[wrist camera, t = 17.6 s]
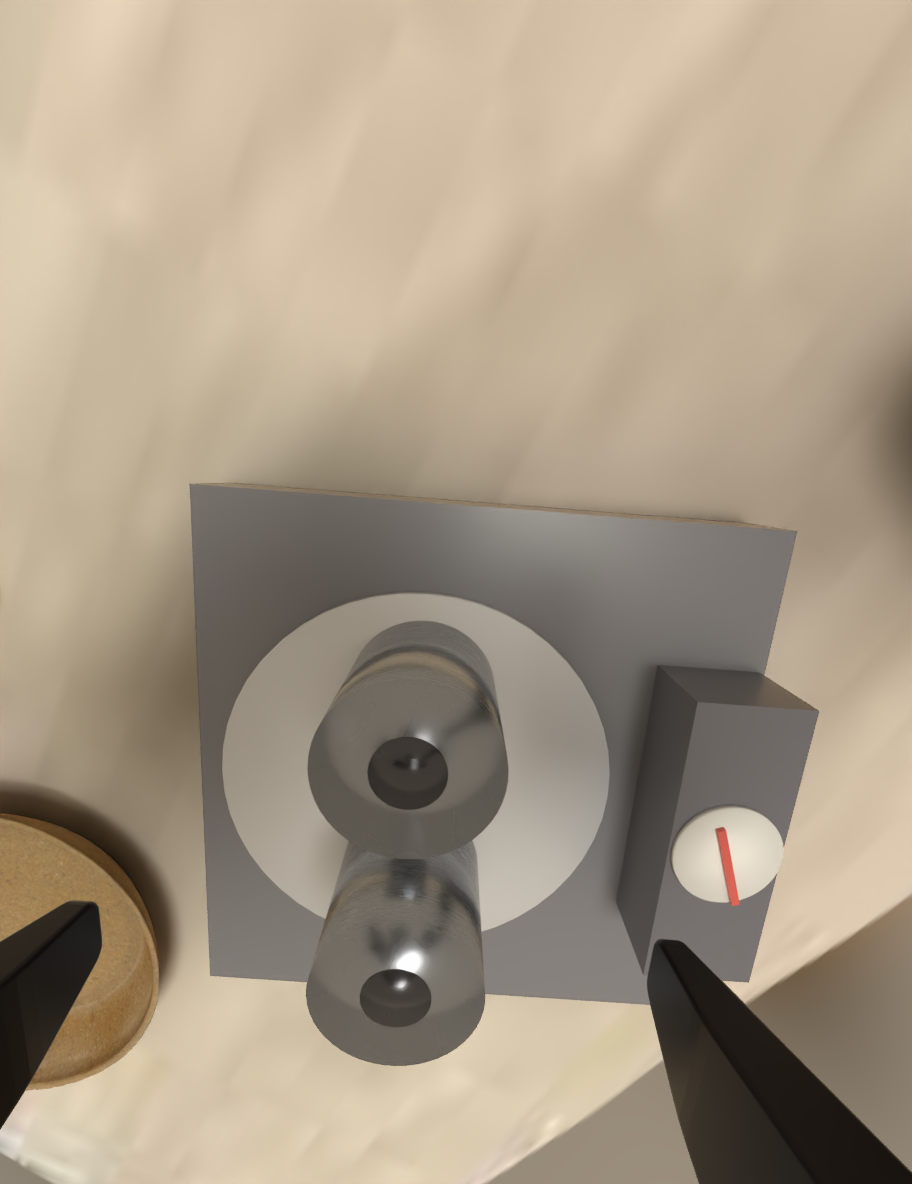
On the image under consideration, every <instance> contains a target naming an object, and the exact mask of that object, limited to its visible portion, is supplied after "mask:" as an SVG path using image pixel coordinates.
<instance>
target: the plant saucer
mask: <svg viewBox="0 0 912 1184" xmlns="http://www.w3.org/2000/svg"><path fill="white" fill-rule="evenodd" d="M72 900H78V901H93V902H96V904H97V905H98V906H99V912H100V922H101V932H102V949H101V953H100V955H99V958H98V960H97V962H96V964H95V966H94V968H93V970H92V972H91V973H90V975H89V977H88V979H87V981H86V983H85V984H84V986H83V988H82V990H81V992H80V994H79V995H78V997H77V999H76V1001H75V1003H74V1005H73V1006H72V1008H71V1010H70V1012H69V1014H68V1016H67V1017H66V1019H65V1021H64V1023H63V1025H62V1027H61V1028H60V1030H59V1032H58V1034H57V1036H56V1037H55V1039H54V1041H53V1043H52V1045H51V1047H50V1048H49V1050H48V1052H47V1054H46V1056H45V1058H44V1059H43V1061H42V1063H41V1065H40V1066H39V1068H38V1070H37V1072H36V1073H35V1075H34V1077H33V1079H32V1080H31V1082H30V1084H29V1085H28V1087H27V1088H26V1090H33V1089H37V1090H38V1089H48V1088H53V1087H57V1086H63V1085H66V1084H69V1083H74V1082H77V1081H80V1080H83V1079H85V1078H87V1077H90V1076H92V1075H94V1074H97V1073H99V1072H101V1071H103V1070H104V1069H106V1068H108V1067H109V1066H111V1065H112V1064H114V1063H116V1062H117V1061H118V1060H120V1059H121V1058H122V1057H124V1056H125V1055H126V1054H127V1053H128V1052H129V1051H130V1050H131V1049H132V1048H133V1047H134V1046H135V1045H136V1043H137V1042H138V1041H139V1040H140V1038H141V1037H142V1036H143V1034H144V1032H145V1031H146V1029H147V1027H148V1025H149V1024H150V1022H151V1019H152V1017H153V1014H154V1011H155V1008H156V1005H157V1000H158V995H159V984H160V980H159V958H158V949H157V943H156V938H155V934H154V930H153V926H152V923H151V920H150V917H149V914H148V912H147V909H146V907H145V905H144V903H143V901H142V898H141V897H140V895H139V893H138V891H137V890H136V888H135V886H134V884H133V883H132V881H131V880H130V878H129V877H128V876H127V874H126V873H125V872H124V871H123V869H122V868H121V867H120V866H119V865H118V864H117V863H116V862H115V861H114V860H113V859H112V858H111V857H110V856H109V855H108V854H107V853H105V852H104V851H103V850H102V849H100V848H99V847H98V846H96V845H95V844H93V843H92V842H90V841H89V840H87V839H85V838H84V837H82V836H80V835H78V834H76V833H74V832H72V831H70V830H68V829H66V828H63V827H60V826H58V825H55V824H52V823H49V822H45V821H42V820H38V819H34V818H29V817H24V816H19V815H12V814H4V813H0V941H2V940H4V939H5V938H7V937H9V936H10V935H12V934H13V933H15V932H17V931H18V930H20V929H22V928H23V927H25V926H27V925H28V924H30V923H32V922H33V921H35V920H37V919H38V918H40V917H42V916H43V915H45V914H47V913H48V912H50V911H52V910H53V909H55V908H57V907H58V906H60V905H62V904H63V903H65V902H68V901H72ZM26 1090H25V1091H26Z"/></svg>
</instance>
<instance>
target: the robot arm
mask: <svg viewBox="0 0 912 1184" xmlns="http://www.w3.org/2000/svg"><path fill="white" fill-rule="evenodd" d="M101 949H102V932H101V922H100V912H99V906H98V905H97V904H96V902H93V901H78V900H72V901H68V902H65V903H63V904H62V905H60V906H58V907H57V908H55V909H53V910H52V911H50V912H48V913H47V914H45V915H43V916H42V917H40V918H38V919H37V920H35V921H33V922H32V923H30V924H28V925H27V926H25V927H23V928H22V929H20V930H18V931H17V932H15V933H13V934H12V935H10V936H9V937H7V938H5V939H4V940H2V941H0V1129H1V1128H2V1126H3V1125H4V1123H5V1121H6V1120H7V1118H8V1117H9V1115H10V1114H11V1112H12V1111H13V1109H14V1107H15V1106H16V1104H17V1103H18V1101H19V1100H20V1098H21V1096H22V1095H23V1093H24V1092H25V1090H26V1088H27V1087H28V1085H29V1084H30V1082H31V1080H32V1079H33V1077H34V1075H35V1073H36V1072H37V1070H38V1068H39V1066H40V1065H41V1063H42V1061H43V1059H44V1058H45V1056H46V1054H47V1052H48V1050H49V1048H50V1047H51V1045H52V1043H53V1041H54V1039H55V1037H56V1036H57V1034H58V1032H59V1030H60V1028H61V1027H62V1025H63V1023H64V1021H65V1019H66V1017H67V1016H68V1014H69V1012H70V1010H71V1008H72V1006H73V1005H74V1003H75V1001H76V999H77V997H78V995H79V994H80V992H81V990H82V988H83V986H84V984H85V983H86V981H87V979H88V977H89V975H90V973H91V972H92V970H93V968H94V966H95V964H96V962H97V960H98V958H99V955H100V953H101ZM647 991H648V997H649V1002H650V1006H651V1010H652V1014H653V1018H654V1022H655V1026H656V1030H657V1035H658V1039H659V1043H660V1047H661V1051H662V1055H663V1059H664V1064H665V1068H666V1072H667V1076H668V1080H669V1084H670V1088H671V1092H672V1096H673V1100H674V1104H675V1108H676V1112H677V1116H678V1120H679V1122H680V1126H681V1129H682V1133H683V1136H684V1139H685V1142H686V1145H687V1149H688V1152H689V1155H690V1158H691V1161H692V1164H693V1166H694V1169H695V1172H696V1176H697V1179H698V1182H699V1184H912V1172H911V1171H910V1170H909V1169H908V1168H907V1167H906V1166H905V1165H904V1164H903V1163H902V1162H901V1161H900V1160H899V1159H898V1158H897V1157H896V1156H895V1155H894V1154H893V1153H892V1152H891V1151H890V1150H889V1149H888V1148H887V1147H886V1146H885V1145H884V1144H883V1143H882V1142H881V1141H880V1140H879V1139H878V1138H877V1137H876V1136H875V1135H874V1134H873V1133H872V1132H871V1131H870V1130H869V1129H868V1128H867V1127H866V1126H865V1125H864V1124H863V1123H862V1122H861V1120H860V1119H859V1118H858V1117H857V1116H856V1115H854V1114H853V1112H852V1111H851V1110H850V1109H849V1108H848V1107H847V1106H846V1105H845V1104H844V1103H843V1102H842V1101H841V1100H840V1099H839V1098H838V1097H837V1096H836V1095H835V1094H834V1093H833V1092H832V1091H831V1090H830V1089H829V1088H828V1087H827V1086H826V1085H825V1084H824V1083H823V1082H822V1081H821V1080H820V1079H819V1078H818V1077H817V1076H816V1075H815V1074H814V1073H813V1072H812V1071H811V1070H810V1069H809V1068H808V1067H807V1066H806V1065H805V1064H804V1063H803V1062H802V1061H801V1060H800V1059H799V1058H798V1057H797V1056H796V1055H795V1054H794V1053H793V1052H792V1051H791V1050H790V1049H789V1048H788V1047H787V1046H786V1045H785V1044H784V1043H783V1042H782V1041H781V1040H780V1039H779V1038H778V1037H777V1036H776V1035H775V1034H774V1033H773V1032H772V1031H771V1030H770V1029H769V1028H768V1027H767V1026H766V1025H765V1024H764V1023H763V1022H762V1021H761V1020H760V1019H759V1018H758V1017H757V1016H756V1015H755V1014H754V1012H753V1011H752V1010H750V1009H749V1007H748V1006H747V1005H746V1004H745V1003H744V1002H743V1001H742V1000H741V999H740V998H739V997H738V996H737V995H736V994H735V993H734V992H733V991H732V990H731V989H730V988H729V987H728V986H727V985H726V984H725V983H724V982H723V981H722V980H721V979H720V978H719V977H718V976H717V975H716V974H715V973H714V972H713V971H712V970H711V969H710V968H709V967H708V966H707V965H706V964H705V963H704V962H703V961H702V960H701V959H700V958H699V957H698V956H697V955H696V954H695V953H694V952H693V951H692V950H691V949H690V948H689V947H688V946H687V945H686V944H685V943H683V942H682V941H679V940H668V939H658V940H657V941H656V942H655V943H654V946H653V951H652V956H651V961H650V966H649V971H648V976H647Z"/></svg>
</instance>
